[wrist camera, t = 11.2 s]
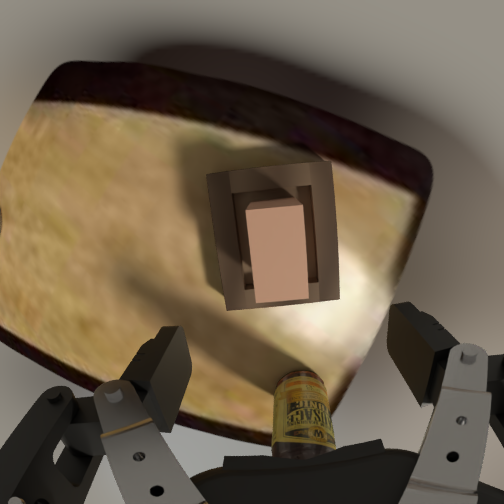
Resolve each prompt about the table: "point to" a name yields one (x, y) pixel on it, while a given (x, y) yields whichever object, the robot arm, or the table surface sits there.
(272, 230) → the key block
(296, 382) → the sauce bottle
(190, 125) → the table surface
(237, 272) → the cradle
